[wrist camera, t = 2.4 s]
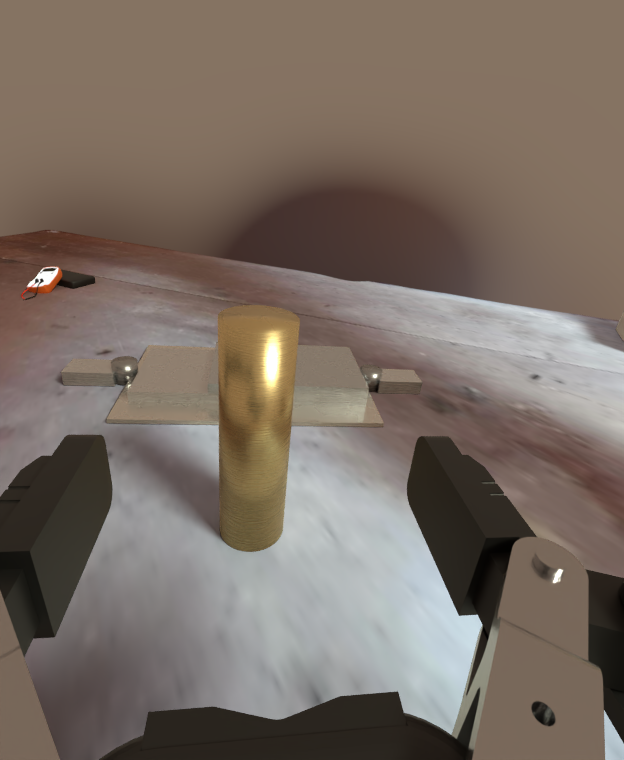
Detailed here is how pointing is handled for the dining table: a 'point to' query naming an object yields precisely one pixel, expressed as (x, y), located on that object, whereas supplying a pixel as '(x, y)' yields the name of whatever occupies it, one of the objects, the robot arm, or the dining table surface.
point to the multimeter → (57, 280)
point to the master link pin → (255, 421)
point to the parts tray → (621, 327)
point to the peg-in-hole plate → (201, 389)
